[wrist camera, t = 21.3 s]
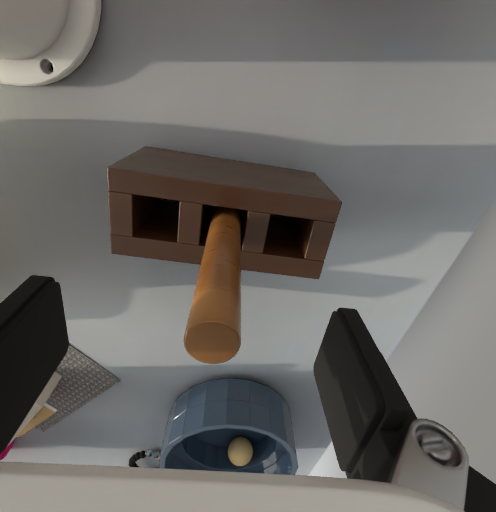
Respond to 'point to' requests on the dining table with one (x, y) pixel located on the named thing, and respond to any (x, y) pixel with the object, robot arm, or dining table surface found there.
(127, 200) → the rack
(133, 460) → the bracelet
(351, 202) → the dining table surface
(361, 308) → the dining table surface
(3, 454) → the pepper mill
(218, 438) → the mixing bowl
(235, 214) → the stick
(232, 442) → the dough ball
